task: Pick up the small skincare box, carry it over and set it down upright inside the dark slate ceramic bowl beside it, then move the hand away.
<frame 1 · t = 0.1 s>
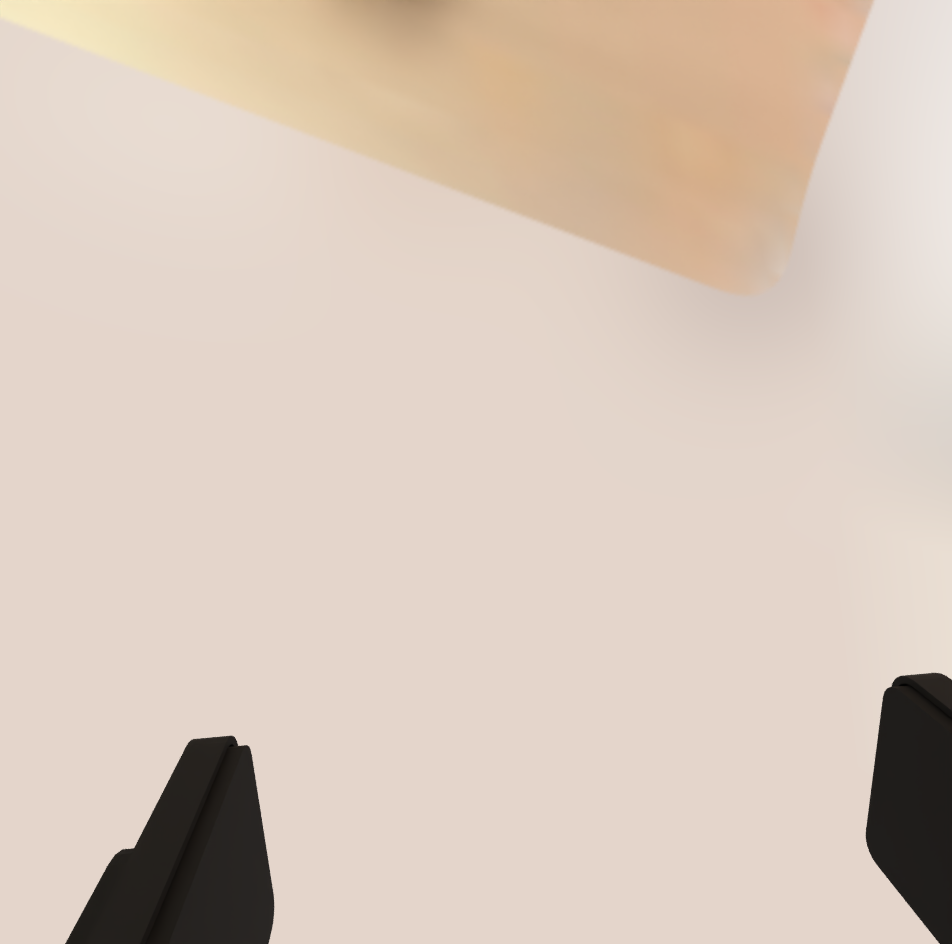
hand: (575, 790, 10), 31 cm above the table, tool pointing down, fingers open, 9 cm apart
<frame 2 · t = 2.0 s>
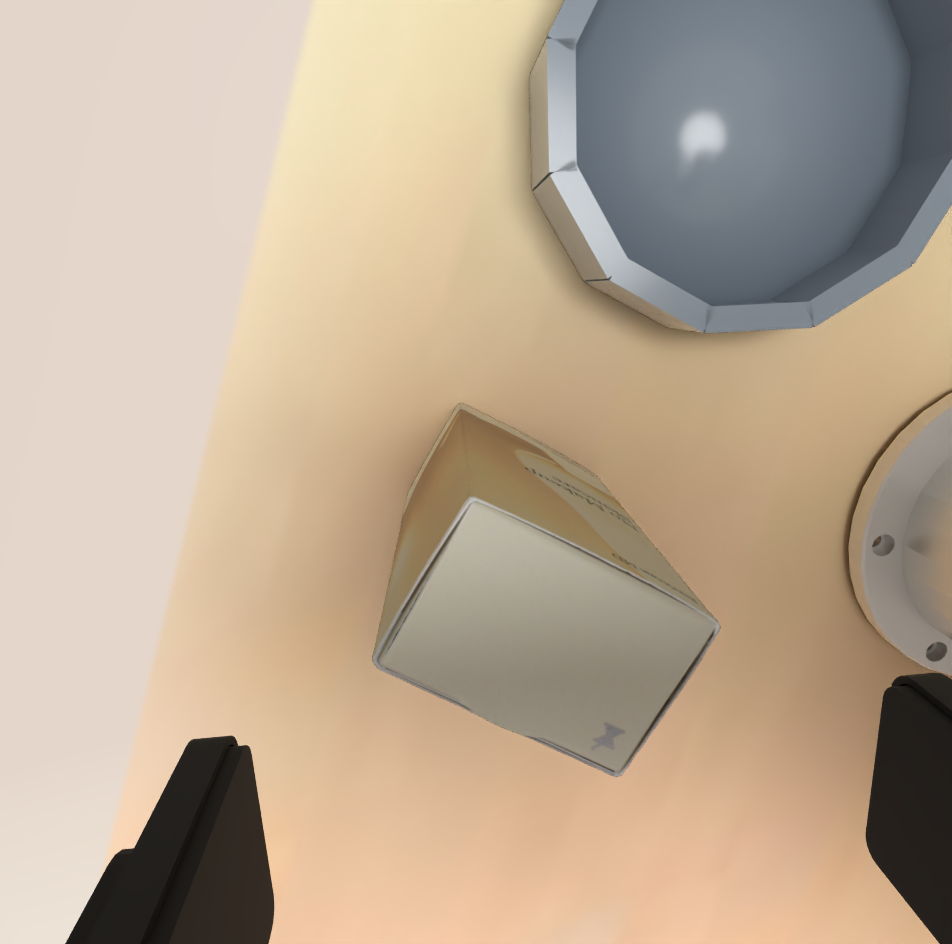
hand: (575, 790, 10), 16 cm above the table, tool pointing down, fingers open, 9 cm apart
slate bowl: (722, 127, 23), on the table
skincare box: (498, 483, 26), on the table
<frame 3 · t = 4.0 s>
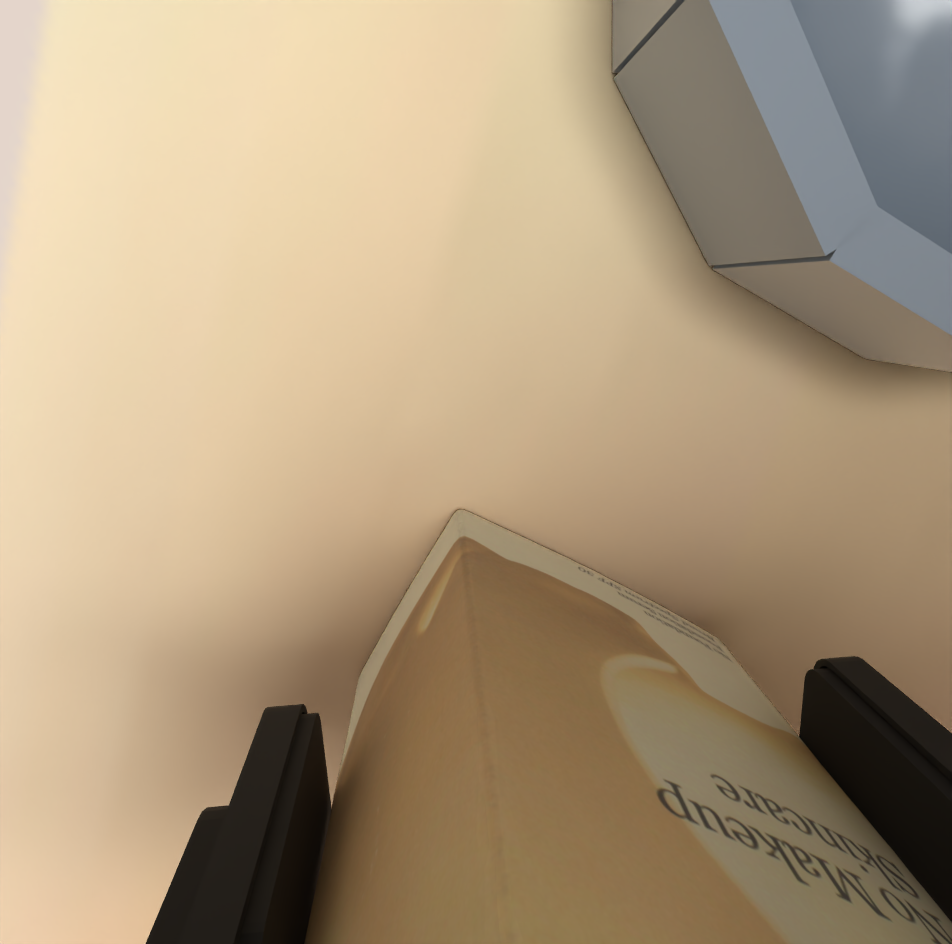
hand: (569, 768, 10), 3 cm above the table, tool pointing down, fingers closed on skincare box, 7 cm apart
skincare box: (531, 651, 14), on the table, touching gripper
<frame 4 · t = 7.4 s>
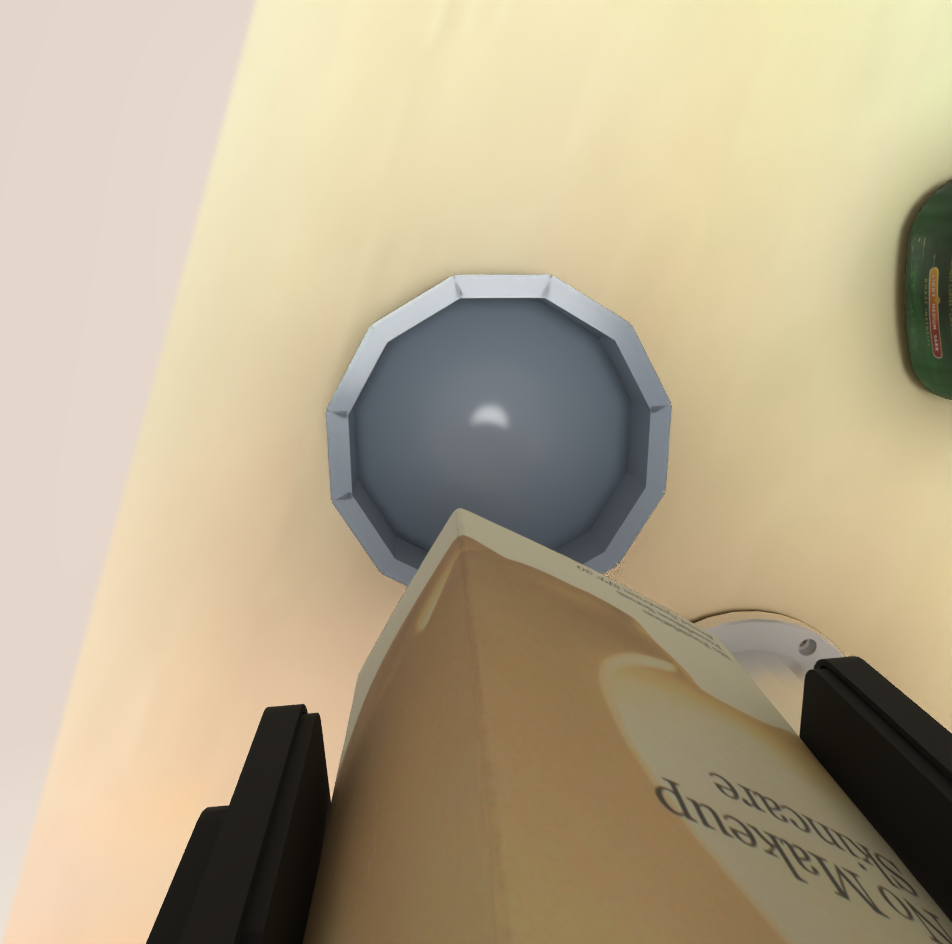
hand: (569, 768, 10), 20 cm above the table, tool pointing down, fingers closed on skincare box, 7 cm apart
slate bowl: (492, 434, 29), on the table
skincare box: (530, 650, 14), point 16 cm above the table, touching gripper
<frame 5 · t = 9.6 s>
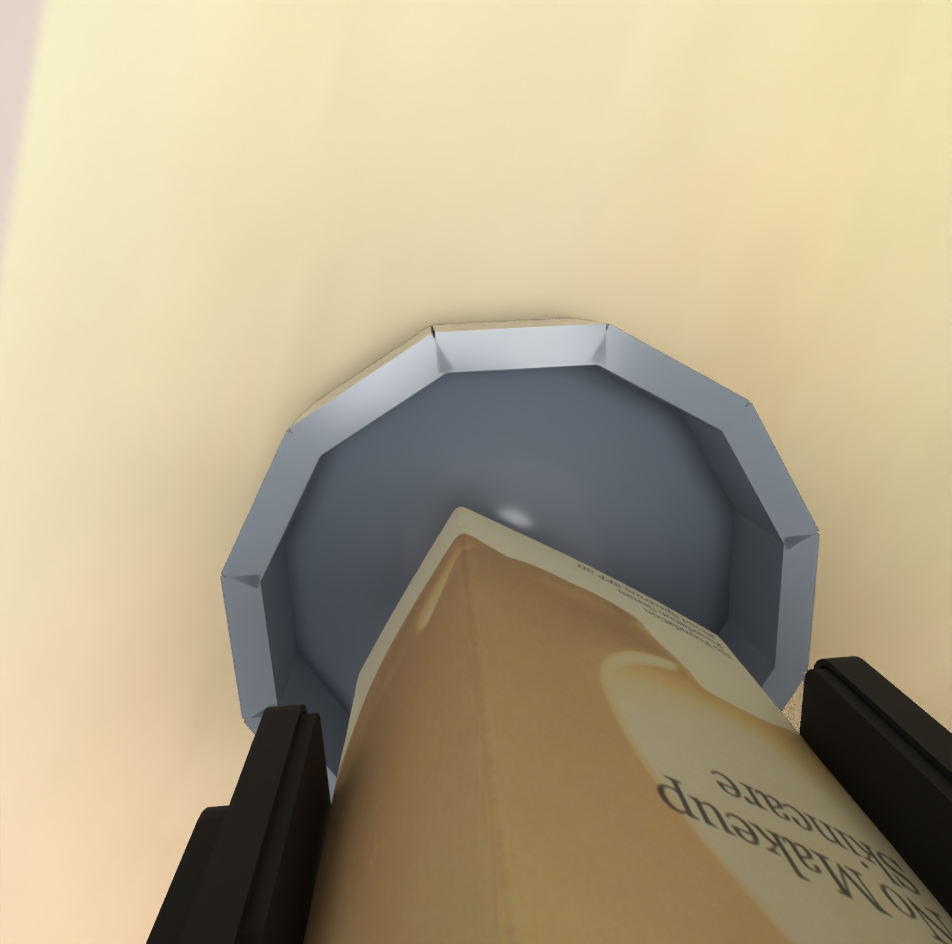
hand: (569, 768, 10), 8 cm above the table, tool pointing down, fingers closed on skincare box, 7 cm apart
slate bowl: (510, 566, 18), on the table
skincare box: (531, 648, 14), point 5 cm above the table, touching gripper
when the fingers open (6 cm above the table, at t = 11.2 s): skincare box drops 1 cm, resting on slate bowl.
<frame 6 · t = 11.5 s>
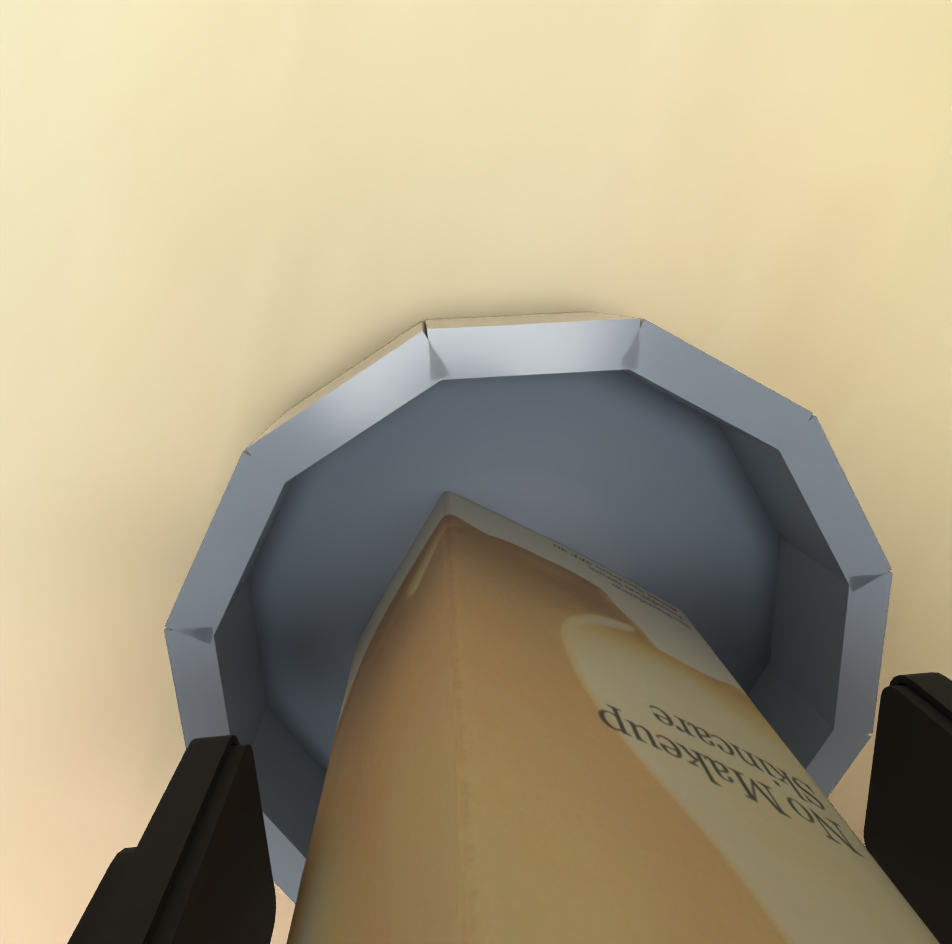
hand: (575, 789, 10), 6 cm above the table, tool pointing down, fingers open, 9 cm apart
slate bowl: (516, 601, 16), on the table
skincare box: (512, 622, 15), point 1 cm above the table, touching slate bowl
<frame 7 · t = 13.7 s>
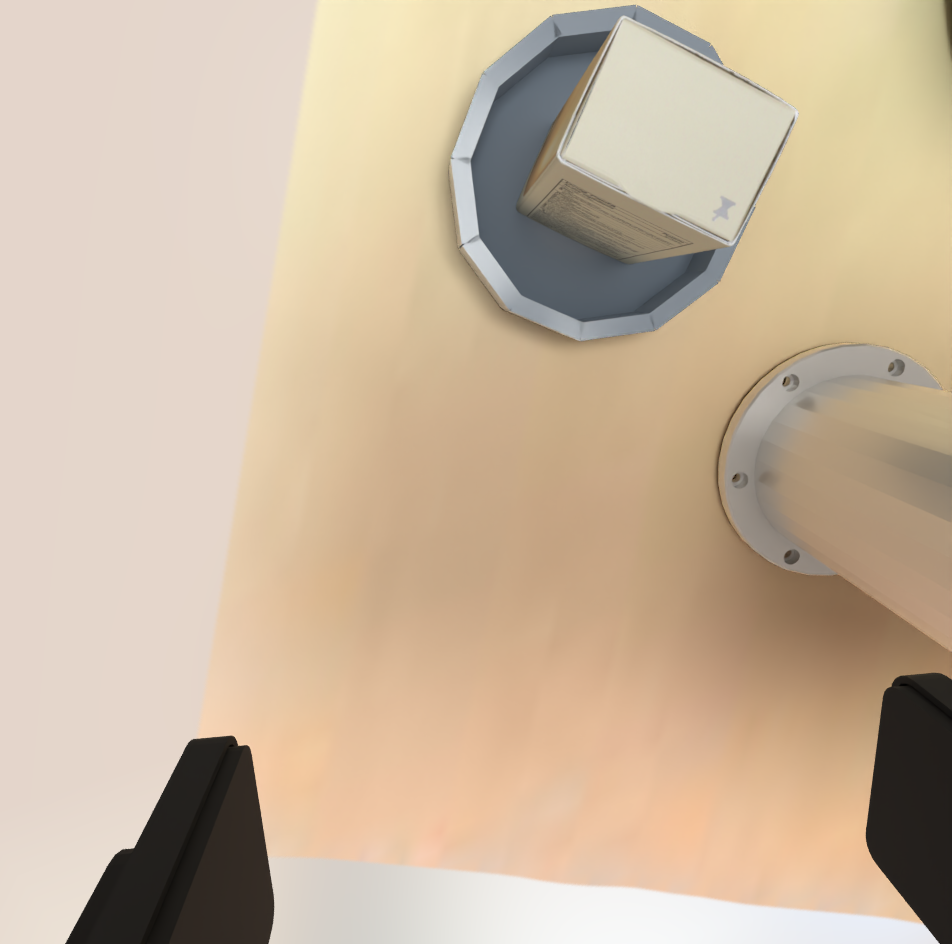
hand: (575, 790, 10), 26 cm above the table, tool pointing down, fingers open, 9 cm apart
slate bowl: (588, 193, 32), on the table
skincare box: (587, 194, 32), point 1 cm above the table, touching slate bowl
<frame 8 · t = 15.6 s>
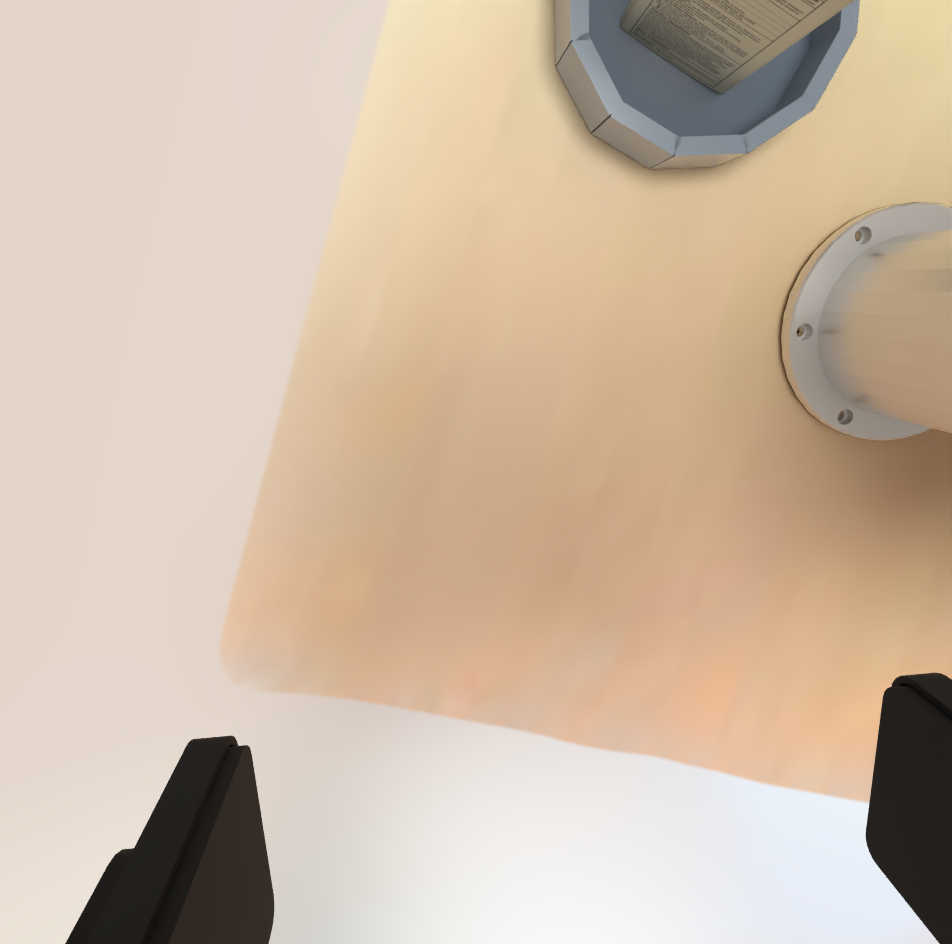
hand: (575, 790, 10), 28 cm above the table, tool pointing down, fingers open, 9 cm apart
slate bowl: (687, 23, 33), on the table
skincare box: (689, 19, 32), point 1 cm above the table, touching slate bowl
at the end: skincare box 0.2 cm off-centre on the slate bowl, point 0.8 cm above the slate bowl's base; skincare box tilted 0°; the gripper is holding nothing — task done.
